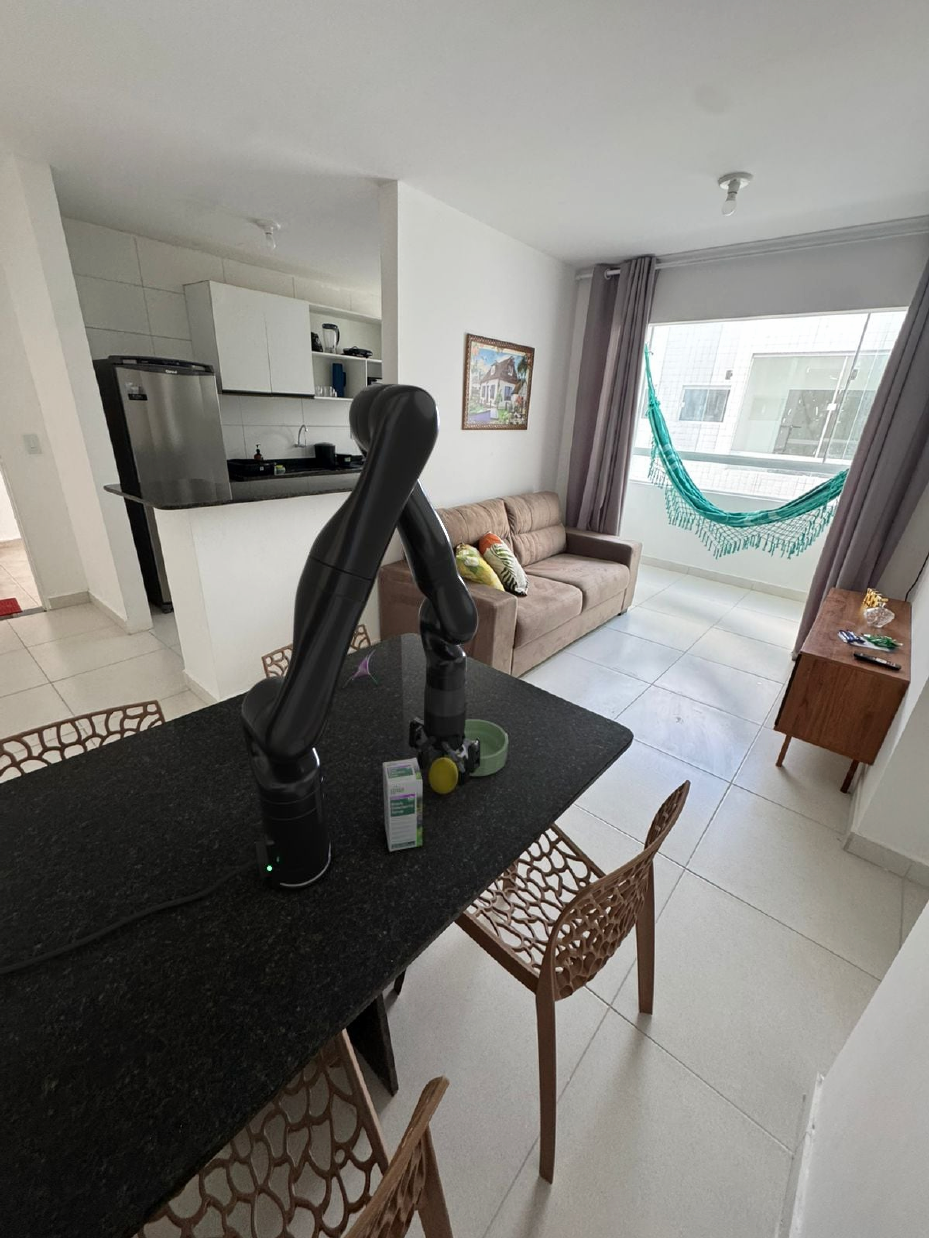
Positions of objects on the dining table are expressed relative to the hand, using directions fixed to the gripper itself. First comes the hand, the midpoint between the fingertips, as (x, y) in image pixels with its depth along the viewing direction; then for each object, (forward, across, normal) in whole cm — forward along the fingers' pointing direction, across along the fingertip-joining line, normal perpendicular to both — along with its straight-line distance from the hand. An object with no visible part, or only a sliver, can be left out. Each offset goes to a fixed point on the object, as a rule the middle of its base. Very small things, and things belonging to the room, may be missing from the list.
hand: (443, 775), depth 97 cm
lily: (+4, -39, +22) cm, 45 cm away
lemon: (+4, 0, 0) cm, 4 cm away
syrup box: (+4, 0, -13) cm, 13 cm away
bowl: (+4, 0, +13) cm, 13 cm away
